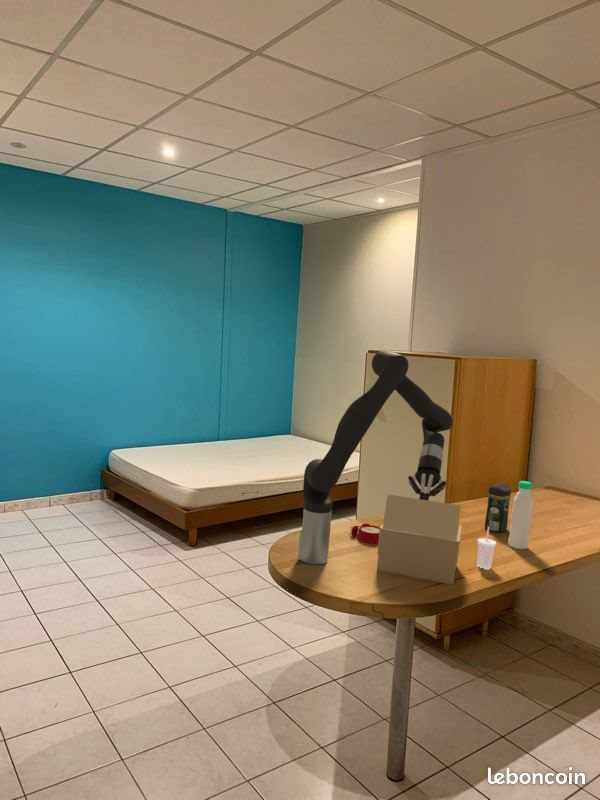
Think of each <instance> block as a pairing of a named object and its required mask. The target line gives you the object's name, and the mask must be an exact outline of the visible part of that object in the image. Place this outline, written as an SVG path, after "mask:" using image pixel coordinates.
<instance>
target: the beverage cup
mask: <svg viewBox="0 0 600 800" xmlns="http://www.w3.org/2000/svg"><path fill="white" fill-rule="evenodd" d="M489 533H490V530H489V527H488V529H486V537H484V538H483V537H481V538H480V537H479V538H477V540H476V541H477V558H476V559H477V560H476V566H477V568H479V567H480V568H479V569H481V568H484V569H483V570H491V569H492V563H493V559H494V553H495V547H496V546H497V541H495V540H493V539H491V538H489ZM490 568H491V569H490Z"/></svg>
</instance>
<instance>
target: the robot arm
mask: <svg viewBox="0 0 600 800" xmlns="http://www.w3.org/2000/svg"><path fill="white" fill-rule="evenodd" d="M371 368H372V371H373V372H374V374H375V375H377V376H378V378H377V379H376V381H375V383H374V384H373V385H372V387H370V389H368V391H366V392H365V393H363V394H362V395H360V396H359V397H358V398H356V399H355V400H354V401H352V403H350V405H349V406H348V407H347V409H346V410H345V412H344V414H343V416H342V417H341V418H340V421H339V422H338V425H337V427H336V430H335V434H334V438H333V441H332V443H331V446H330V448H329V450H328V452H327V453H326V454H325V456H324V457H323V458H315V459H313V460H311V461H309V462H308V464H307V465H306V467H305V469H304V474H303V475H304V476H303V485H302V486H303V489H302V499H303V514H302V528H301V531H299V542H298V555H297V560H298V561H302V562H303V563H304V564H305V563H306V564H309V565H323V564H326V563H327V562H328V559H329V547H330V538H331V526H332V525H331V524H332V511H333V501H332V496H331V490H332V489H333V488H334V487H336V485H337V483H338V481H339V479H340V478H341V475H342V473H343V472H344V469H345V467H346V465H347V463H348V461H349V460H350V458H351V456H352V455H353V454H354V452H355V450H356V449H357V447H358V446H359V444H360V443H361V441H362V440H363V438H364V436H365V435H366V434H367V432H368V431H369V429H370V427H371V426H372V424H373V422H374V420H375V419H376V418H377V416H378V414H379V413H380V411H381V409H382V408H383V407H384V405H385V404H386V402H387V400H389V398H390V396H391V395H392V394H393V393H394V391H396V392H397V394H399V396H400V397H401V398H402V399H403V400H404V401H405V402H406V403H407V404H408V405H409V407H410V408H411V409H412V410H413V412H414V413H415V414H416V415H417V416H418V417H419V418H421V419H422V420H421V427H422V433H423V435H422V436H423V441H422V447H421V451H420V453H419V459H418V464H417V470H416V472H415V473H414V475H412V476H411V475H409V476H408V477H407V479H408V480H407V481H408V484H409V485H410V487H411V488H412V490H413V491H414V494H416V495H419V498H418V499H421V500H427V501H430V500H429V499H430V497H435V496H437V495H438V494H439V493H441V492H442V491H443V490H444V489H446V487H447V481H446V480H443V479H442V476H441V469H442V464H443V458H444V446H445V437H444V435H443V434H441V432H445V431H449V430H450V429H451V428H452V427H453V425H454V424H453V421H454V420H453V417H452V415H451V413H450V412H449V411H448V410H447V409H445V408H444V407H442V406H440V405H439V404H438V403H436V402H434V401H433V399H431V397H430V396H429V394H428V393H426V391H425V390H424V389H423V388H422V387H420V386H419V385H418V384H416V383H415V382H414V381H413V380H411V378H409V377H408V376H407V373H408V371H409V360H408V359H407V357H406V356H405V355H402V354H401V353H397V352H394V351H391V350H387V349H386V350H379V351H377V352H376V353H375V354H374V355H373V358H372V360H371ZM417 483H418V484H419V486H420V487H419V486H418V484H417Z"/></svg>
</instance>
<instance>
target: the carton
mask: <svg viewBox="0 0 600 800" xmlns="http://www.w3.org/2000/svg"><path fill="white" fill-rule="evenodd" d="M379 527H380V532H379V543H378V544H377V554H376V555H377V556H378V557H377V565H376V566H377V567H376V571H378V572H383V573H388V574H393V575H399V576H403V577H408V578H415V579H419V578H420V579H419V580H424V579H425V581H430V580H431V581H432V582H435V583H441V584H447V585H452V586H453V585H454V582H455V575H456V570H457V568H458V561H459V555H460V546H461V545H460V544H461V539H462V538H461V537H462V529H463V525H462V524H458V532H457V541H453V540H447V539H441V538H435V537H430V536H424V535H418V534H412V533H406V532H400V531H394V530H388V529H383V523H382V524H381V526H379ZM431 581H430V582H431Z"/></svg>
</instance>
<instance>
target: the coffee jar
mask: <svg viewBox="0 0 600 800" xmlns="http://www.w3.org/2000/svg"><path fill="white" fill-rule="evenodd" d="M511 493H512V489H511V487H510V486H509V485H507V484H504V483H498V484H495V485H491V486H489V487H488V492H487V507H486V514H485V519H484V520H485V521H484V529H486V530H488V527H489V532H494V533H495V532H497V533H502V532H504V531H506V530H507V529H508V521H509V510H510V509H509V508H510V500H511V495H512V494H511Z"/></svg>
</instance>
